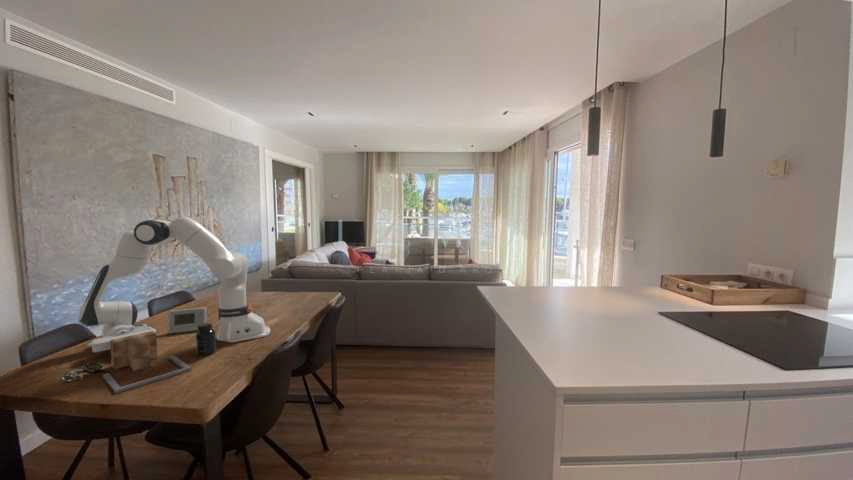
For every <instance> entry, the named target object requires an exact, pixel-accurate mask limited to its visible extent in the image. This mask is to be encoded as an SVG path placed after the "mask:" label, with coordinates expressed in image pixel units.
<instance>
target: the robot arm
mask: <svg viewBox="0 0 853 480" xmlns="http://www.w3.org/2000/svg"><path fill="white" fill-rule="evenodd" d="M175 241H178V242H179V243H181V244H183V245H184V246H185V247H186V248H188V249H189V250H190V251H191V252H192V253H194V254H195V255H196V256H197V257H199V259H201V260H202V262H203V263H204V264H205V265H206V267H208V269H209V270H210V272H211V273H210V274H211V275H212V276H213V277H214V278H215V279H217V280H221V281H220V285H219V289H218V304H219V305H218V310H217V315H218V317H217V318H218V320H219V324H218V330H217V336H216V341H217V340H218V341H221V342H227V343H231V344H232V343H236V342H237V343H238V342H241V341H246V340H247V341H248V340H254V339H259V338H263V337H264V338H265V337H267V336H269V334H270V333H271V328H270V327H269V326H268V325H266V324H265V320H264V318H263V317H261V316H259V315H257V314H256V313H254V312H252V305H251V304H247V280H248V270H249V264H250V261H249V258H248V256H247V255H246V254H244V253H242V252H238V251H234V252H230V251H229V250H227V248H226V247H225V245H224V244H223V242H221V240H220V239H219V238H218V237H217V236H216V235H214V233H212V231H210V230H209V229H207V227H205V226H203V225H202V224H201V223H199V222H198V221H196V220H194V219H193V218H191V217H189V216H186V215H184V216H183V215H182V216H179V217H176V218H175V219H174V220H169V219H157V218H156V219H148V220H143V221H141V222H138V223H137V224H136V226H135V227H134V228H133V229H132V230H128V231H125V232H124V233H123V234H122V235H121V238H120V240H119V242H118V244H117V248H116V251H115V256H114V258H113V259H112V261H110V262H109V264H106V265H103V266H102V267H101V269H100V270H99V272H98V274H97V276H96V277H95V279H94V282H93V284H92V287H91V288H90V290H89V293H88V295H87V297H86V298H85V301H84V303H83V304H82V306H81V307H80V309H79V311H78V315H77V318H78V319H77V320H78V322H79V323H80V324H82V325H83V326H86V327H94V326H95V327H96V326H102V325H103V326H102V328H101V336H102V337H100V338H95V339H93V340H92V341H91V342H90V343H88V344H87V345H88V346H89V347H91V350H92V353H100V352H105V351H108V350H111V349H110V340H113V339H118V338H122V337H127V336H132V335H136V334H141V333H145V332H150V331H153V332H155V333H156V334H157V330H156V329H155V328H154V327H150V326H147V324H144V323H143V324H136V322H137V320H138V308H137V306H136V304H135V303H134V302H132V301H125V300H124V301H101V300H102V298H103V295H104V293H105V291H106V290H107V289H106V288H107V287H108V285H110V284H111V283H112V282H114V281H118V280H119V279H123V278H129V277H132V276H135V275H137V274H139V273H141V272H142V271H143V270H144V269H145V268H146V265H147V263H148V260H149V254H150V249H151V248H152V247H153V246H154V245H165V244H169V243H173V242H175Z"/></svg>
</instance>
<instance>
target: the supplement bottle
mask: <svg viewBox="0 0 853 480" xmlns="http://www.w3.org/2000/svg"><path fill="white" fill-rule="evenodd" d="M216 341H217V337H216V330H214V329H213V324H212V322H206V323H203V324H200V325H198V331H196V334H195V346H196V355H197V356H200V357H203V356H210V355H212V354H214V353H216V351H217V342H216Z"/></svg>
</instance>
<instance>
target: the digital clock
mask: <svg viewBox="0 0 853 480" xmlns="http://www.w3.org/2000/svg"><path fill="white" fill-rule="evenodd" d="M207 310H208V309H207V307H192V308H183V309H182V308H181V309H175V310H174V309H173V310H172V309H171V310H169V311H168V313H167V328H166V329H167V334H182V333H190V332H191V333H192V332H198V325H200V324H203V323H208V322H207V318H208V316H207Z"/></svg>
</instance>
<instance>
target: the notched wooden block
mask: <svg viewBox="0 0 853 480" xmlns="http://www.w3.org/2000/svg"><path fill="white" fill-rule="evenodd" d="M109 350H110V360H111V367H112V369H114V370H117V369H120V368H124V367H130V369H132V371H133V372H135V371H140V370H142V369H147V368H150V367H152V360H154V359H157V358H158V342H157V332H156V333H155V332H153V331H150V332H145V333H141V334H136V335H132V336H127V337H122V338H118V339H113V340H110V349H109Z"/></svg>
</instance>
